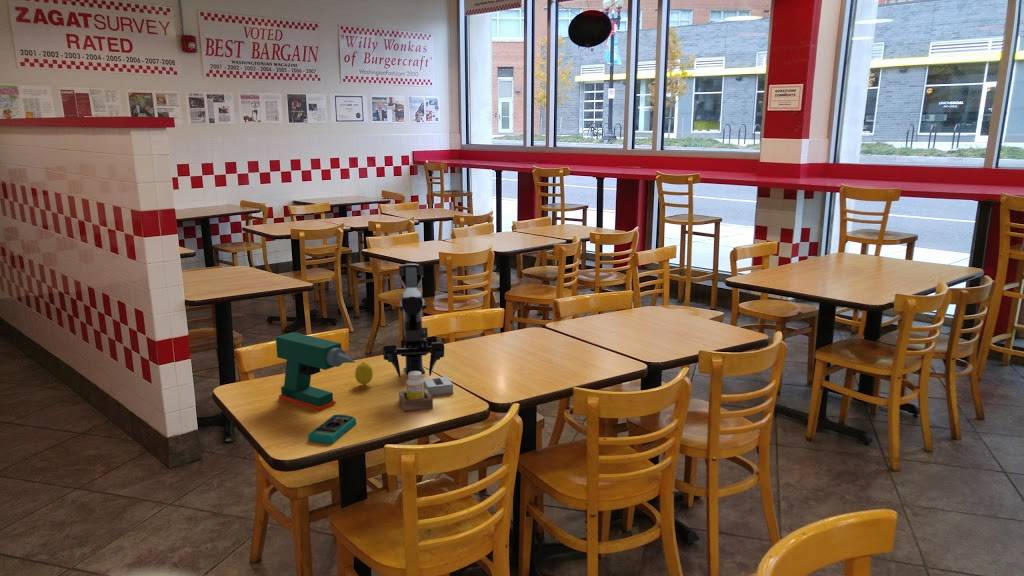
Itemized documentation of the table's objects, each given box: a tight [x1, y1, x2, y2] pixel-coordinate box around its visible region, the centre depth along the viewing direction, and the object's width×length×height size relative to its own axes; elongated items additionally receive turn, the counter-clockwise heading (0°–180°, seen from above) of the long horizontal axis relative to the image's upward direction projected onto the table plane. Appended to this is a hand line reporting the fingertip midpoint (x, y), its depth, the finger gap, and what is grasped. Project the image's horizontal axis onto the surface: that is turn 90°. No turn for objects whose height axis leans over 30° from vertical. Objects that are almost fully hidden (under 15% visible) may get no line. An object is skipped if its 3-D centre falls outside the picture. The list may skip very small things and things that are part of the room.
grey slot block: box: [422, 376, 454, 396], centre depth 230 cm, size 8×8×3 cm
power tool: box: [275, 331, 356, 412], centre depth 216 cm, size 32×7×20 cm, turn 56°
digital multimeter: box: [307, 414, 357, 445], centre depth 198 cm, size 7×15×3 cm, turn 165°
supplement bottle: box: [405, 371, 424, 400], centre depth 217 cm, size 5×5×10 cm
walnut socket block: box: [398, 389, 434, 413], centre depth 218 cm, size 10×8×3 cm
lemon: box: [354, 361, 373, 387], centre depth 234 cm, size 6×6×8 cm
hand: (414, 375), depth 219 cm, fingers open, 9 cm apart
